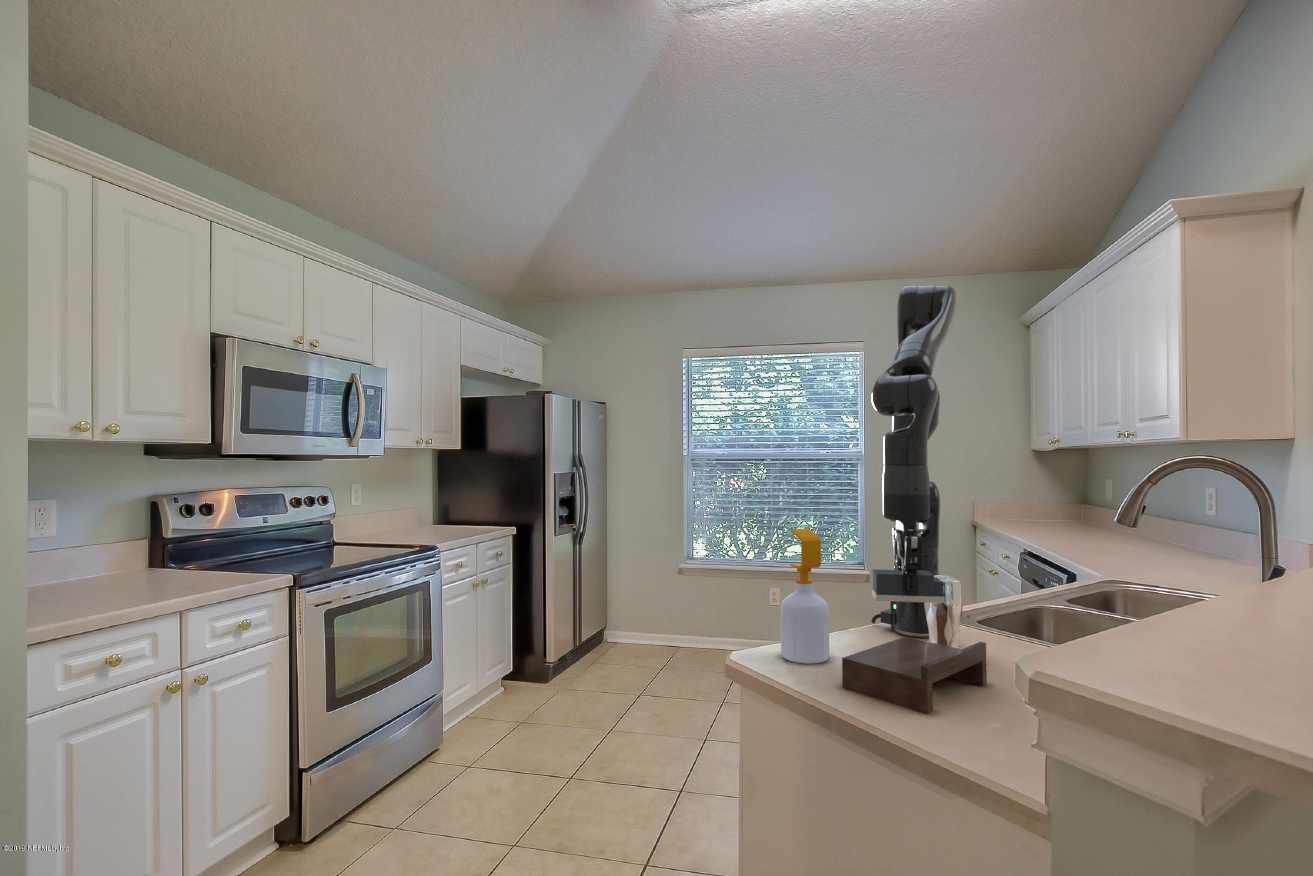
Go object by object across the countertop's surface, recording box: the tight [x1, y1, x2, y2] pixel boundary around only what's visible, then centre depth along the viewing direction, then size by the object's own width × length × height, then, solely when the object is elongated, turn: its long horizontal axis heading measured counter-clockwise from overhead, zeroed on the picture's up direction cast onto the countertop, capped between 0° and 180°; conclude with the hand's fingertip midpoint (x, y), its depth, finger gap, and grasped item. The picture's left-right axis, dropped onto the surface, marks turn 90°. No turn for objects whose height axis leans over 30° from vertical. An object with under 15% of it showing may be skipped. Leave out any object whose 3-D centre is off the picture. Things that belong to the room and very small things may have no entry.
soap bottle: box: [780, 528, 830, 665], centre depth 128 cm, size 9×9×25 cm
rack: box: [841, 636, 988, 715], centre depth 111 cm, size 15×20×7 cm
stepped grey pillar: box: [871, 569, 945, 603], centre depth 113 cm, size 11×4×4 cm, turn 80°
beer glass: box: [924, 574, 964, 649], centre depth 128 cm, size 7×7×15 cm
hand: (907, 591), depth 113 cm, fingers closed on stepped grey pillar, 4 cm apart
